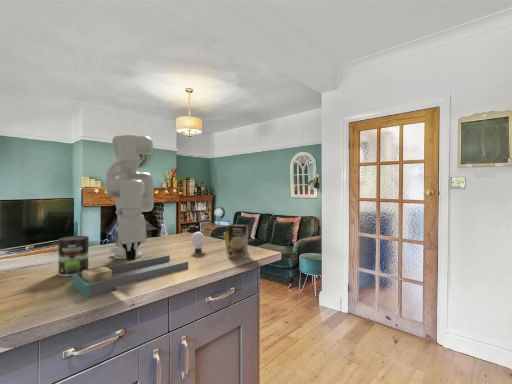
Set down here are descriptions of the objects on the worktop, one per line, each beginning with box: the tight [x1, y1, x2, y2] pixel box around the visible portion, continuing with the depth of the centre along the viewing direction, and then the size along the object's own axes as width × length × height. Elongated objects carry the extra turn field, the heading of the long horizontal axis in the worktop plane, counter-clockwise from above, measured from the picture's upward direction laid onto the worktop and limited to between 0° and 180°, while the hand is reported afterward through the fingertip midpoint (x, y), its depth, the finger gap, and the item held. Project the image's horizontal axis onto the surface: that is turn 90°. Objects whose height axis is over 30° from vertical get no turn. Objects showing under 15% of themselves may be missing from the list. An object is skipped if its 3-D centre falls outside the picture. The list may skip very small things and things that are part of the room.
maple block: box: [82, 266, 112, 284], centre depth 92 cm, size 7×7×4 cm
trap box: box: [71, 254, 189, 299], centre depth 103 cm, size 37×16×4 cm, turn 137°
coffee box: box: [227, 223, 249, 260], centre depth 133 cm, size 9×6×16 cm
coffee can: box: [57, 235, 90, 277], centre depth 109 cm, size 10×10×14 cm
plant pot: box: [223, 231, 229, 252], centre depth 148 cm, size 10×10×10 cm
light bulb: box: [191, 231, 205, 254], centre depth 143 cm, size 7×7×11 cm
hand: (130, 259), depth 103 cm, fingers closed
